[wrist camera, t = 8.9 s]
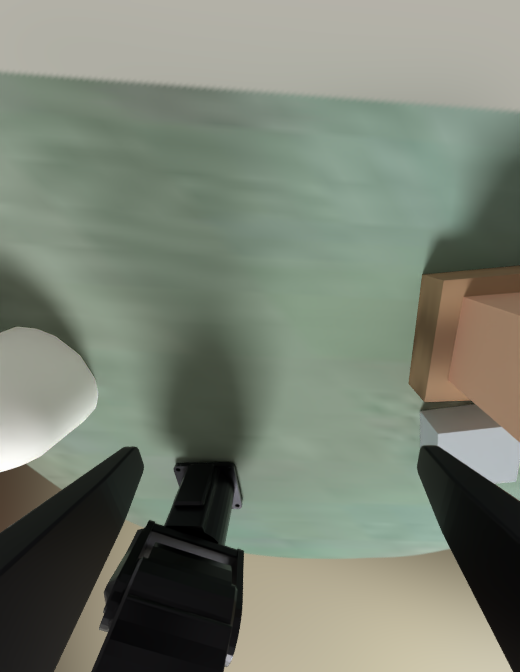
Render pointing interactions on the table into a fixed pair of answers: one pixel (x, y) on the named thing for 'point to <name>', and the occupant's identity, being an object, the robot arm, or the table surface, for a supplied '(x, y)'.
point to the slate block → (472, 440)
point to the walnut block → (448, 324)
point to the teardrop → (39, 394)
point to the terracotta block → (490, 357)
